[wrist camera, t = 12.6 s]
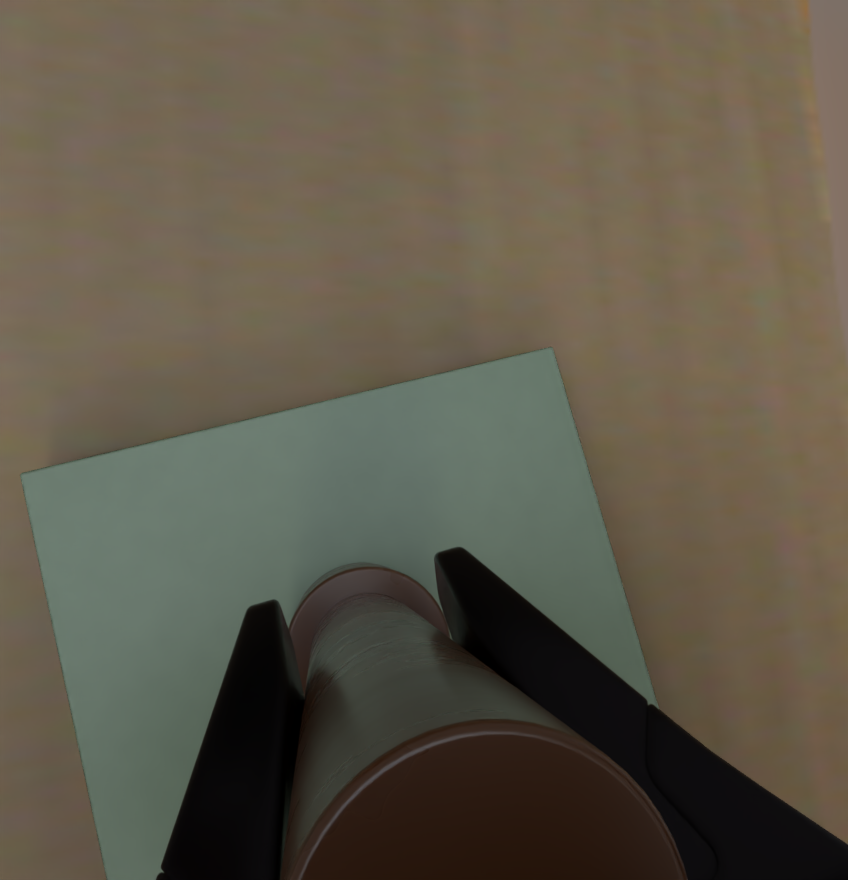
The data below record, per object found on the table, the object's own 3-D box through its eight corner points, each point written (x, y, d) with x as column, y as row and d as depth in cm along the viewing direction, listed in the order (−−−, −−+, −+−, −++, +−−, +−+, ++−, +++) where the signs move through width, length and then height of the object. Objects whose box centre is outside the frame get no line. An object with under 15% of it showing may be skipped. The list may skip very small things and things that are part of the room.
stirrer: (412, 716, 16) (745, 1375, 3) (275, 688, 16) (68, 1294, 3) (442, 578, 17) (826, 692, 4) (311, 548, 16) (262, 562, 4)
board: (781, 1203, 17) (823, 1265, 16) (259, 1463, 15) (252, 1564, 14) (535, 360, 19) (553, 346, 18) (44, 478, 17) (18, 473, 16)
